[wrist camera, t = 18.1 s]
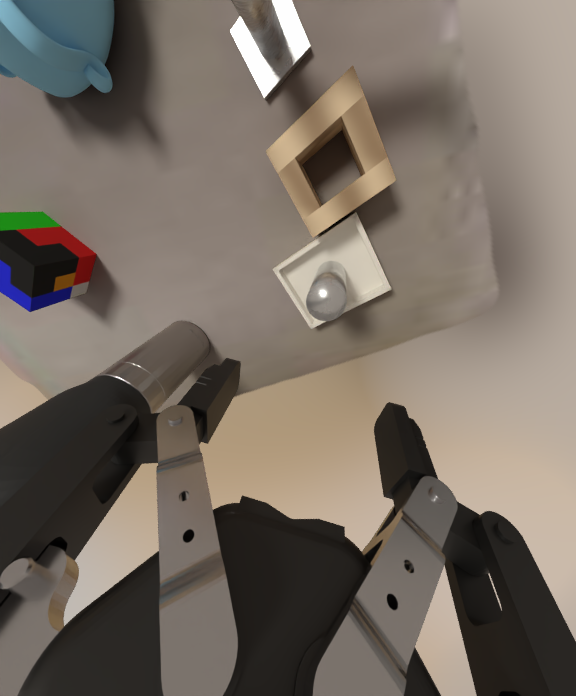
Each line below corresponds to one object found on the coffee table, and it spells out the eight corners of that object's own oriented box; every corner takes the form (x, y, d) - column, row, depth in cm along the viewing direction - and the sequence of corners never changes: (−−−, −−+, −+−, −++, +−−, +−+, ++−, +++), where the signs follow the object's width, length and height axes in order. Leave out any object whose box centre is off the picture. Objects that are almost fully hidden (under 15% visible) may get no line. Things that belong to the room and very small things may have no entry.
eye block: (316, 233, 32) (313, 237, 28) (276, 159, 29) (265, 151, 25) (388, 184, 28) (396, 180, 24) (351, 89, 24) (352, 65, 20)
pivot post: (266, 100, 26) (223, 41, 17) (233, 35, 24) (163, -72, 15) (311, 50, 24) (289, -52, 14) (278, -27, 21) (228, -206, 12)
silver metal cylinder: (325, 295, 36) (318, 327, 27) (310, 271, 34) (298, 296, 25) (351, 281, 34) (353, 310, 25) (336, 254, 32) (334, 274, 23)
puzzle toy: (86, 292, 46) (30, 312, 38) (38, 257, 44) (-33, 269, 36) (96, 254, 41) (34, 266, 33) (43, 211, 39) (-39, 213, 31)
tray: (312, 322, 39) (311, 328, 37) (276, 265, 36) (272, 269, 34) (388, 284, 34) (391, 289, 32) (355, 211, 30) (356, 212, 28)
